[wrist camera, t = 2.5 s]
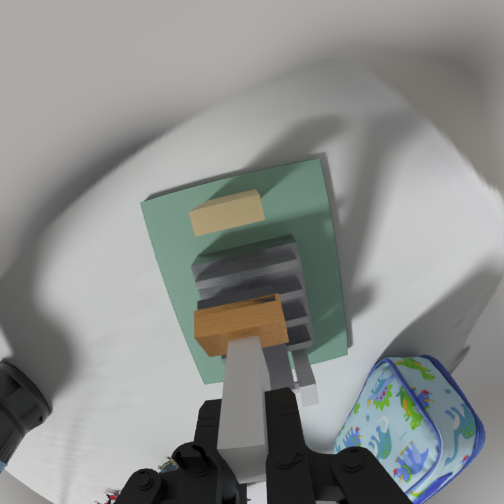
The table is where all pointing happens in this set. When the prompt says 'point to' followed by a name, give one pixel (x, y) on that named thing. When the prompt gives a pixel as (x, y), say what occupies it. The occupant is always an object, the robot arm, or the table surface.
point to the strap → (246, 328)
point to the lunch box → (414, 424)
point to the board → (246, 232)
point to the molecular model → (110, 497)
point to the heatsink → (260, 280)
